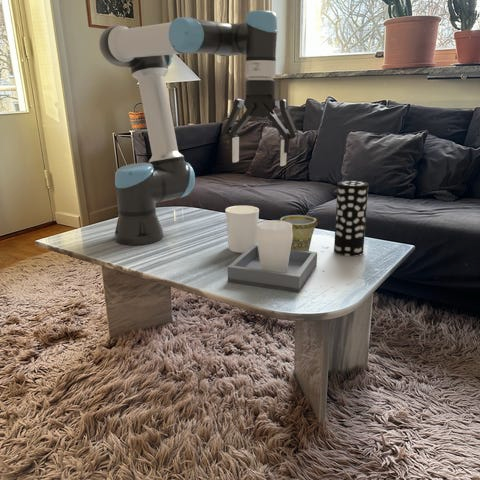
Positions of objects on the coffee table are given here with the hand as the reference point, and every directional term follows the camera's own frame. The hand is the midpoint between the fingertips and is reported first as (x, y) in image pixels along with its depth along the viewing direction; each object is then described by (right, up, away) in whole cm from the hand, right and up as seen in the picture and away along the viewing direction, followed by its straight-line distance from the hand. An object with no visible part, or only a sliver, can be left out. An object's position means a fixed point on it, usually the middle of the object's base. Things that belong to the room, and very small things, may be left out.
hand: (258, 163), depth 122 cm
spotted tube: (+27, -24, +11) cm, 37 cm away
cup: (+4, -28, -5) cm, 29 cm away
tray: (+4, -29, -5) cm, 30 cm away
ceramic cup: (+13, -24, +11) cm, 29 cm away
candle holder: (-4, -23, +14) cm, 28 cm away
